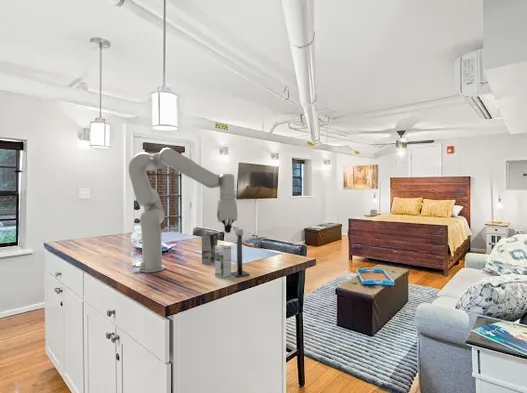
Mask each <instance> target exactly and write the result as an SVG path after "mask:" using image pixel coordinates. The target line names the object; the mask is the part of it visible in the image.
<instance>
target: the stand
mask: <svg viewBox="0 0 527 393" xmlns="http://www.w3.org/2000/svg"><path fill="white" fill-rule="evenodd" d="M236 267H237V269H236V271H231V276H233V277H234V278H243V277H248V276H250V273H249V272H247V271H245V270H243V235H236Z"/></svg>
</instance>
